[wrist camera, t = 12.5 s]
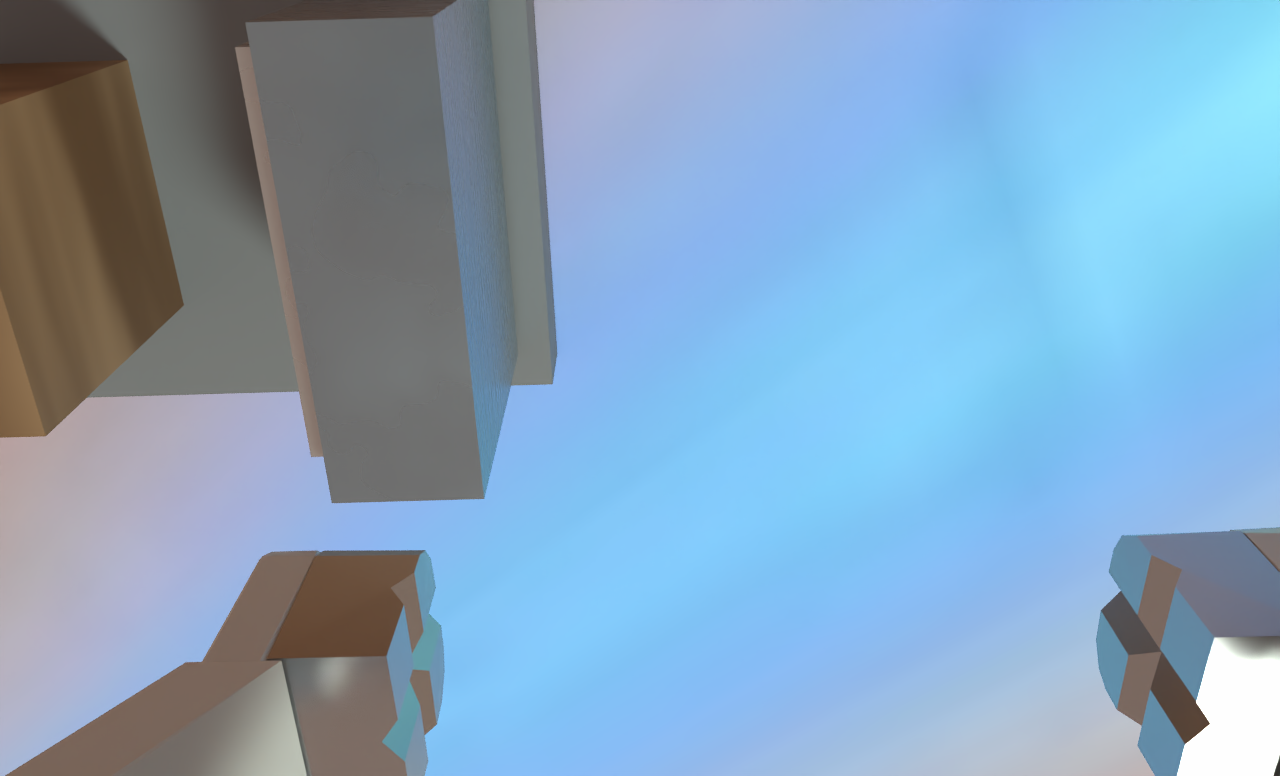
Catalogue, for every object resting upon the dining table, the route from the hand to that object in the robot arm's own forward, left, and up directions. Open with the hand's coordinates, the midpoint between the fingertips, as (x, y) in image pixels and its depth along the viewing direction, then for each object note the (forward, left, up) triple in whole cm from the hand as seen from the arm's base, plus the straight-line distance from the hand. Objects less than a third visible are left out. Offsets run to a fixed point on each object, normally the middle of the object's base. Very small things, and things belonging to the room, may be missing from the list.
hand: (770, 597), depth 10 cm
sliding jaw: (+6, 0, -16) cm, 18 cm away
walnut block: (+15, 0, -17) cm, 22 cm away
